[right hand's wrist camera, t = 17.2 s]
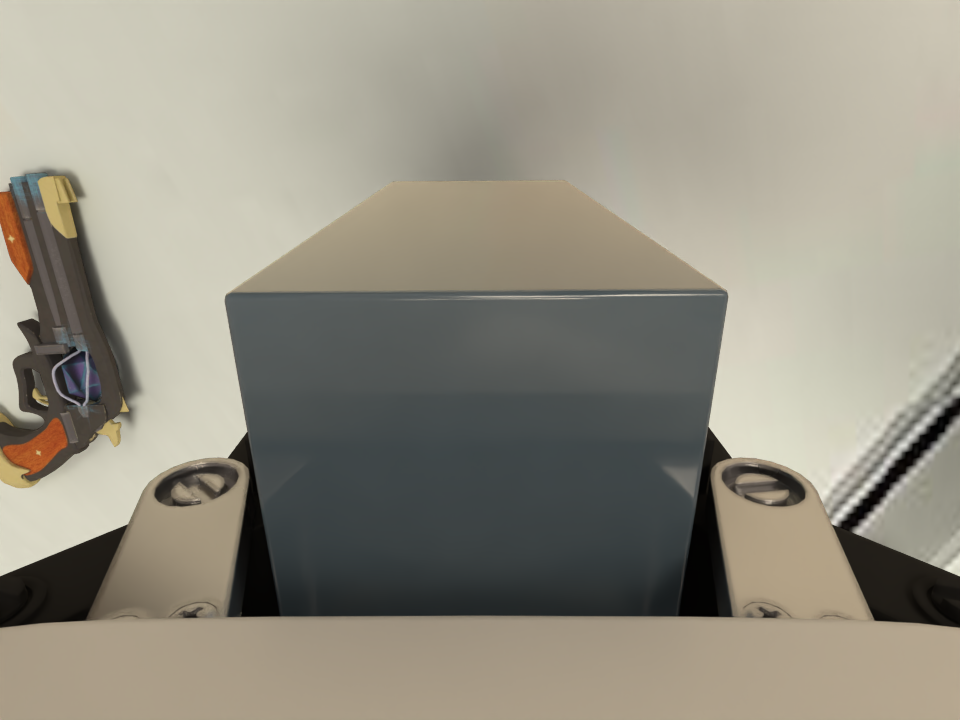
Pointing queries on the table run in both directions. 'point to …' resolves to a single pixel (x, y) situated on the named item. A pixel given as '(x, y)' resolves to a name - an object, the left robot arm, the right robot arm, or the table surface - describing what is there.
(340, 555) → the brick
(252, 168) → the table surface
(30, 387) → the toy gun
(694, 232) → the table surface
